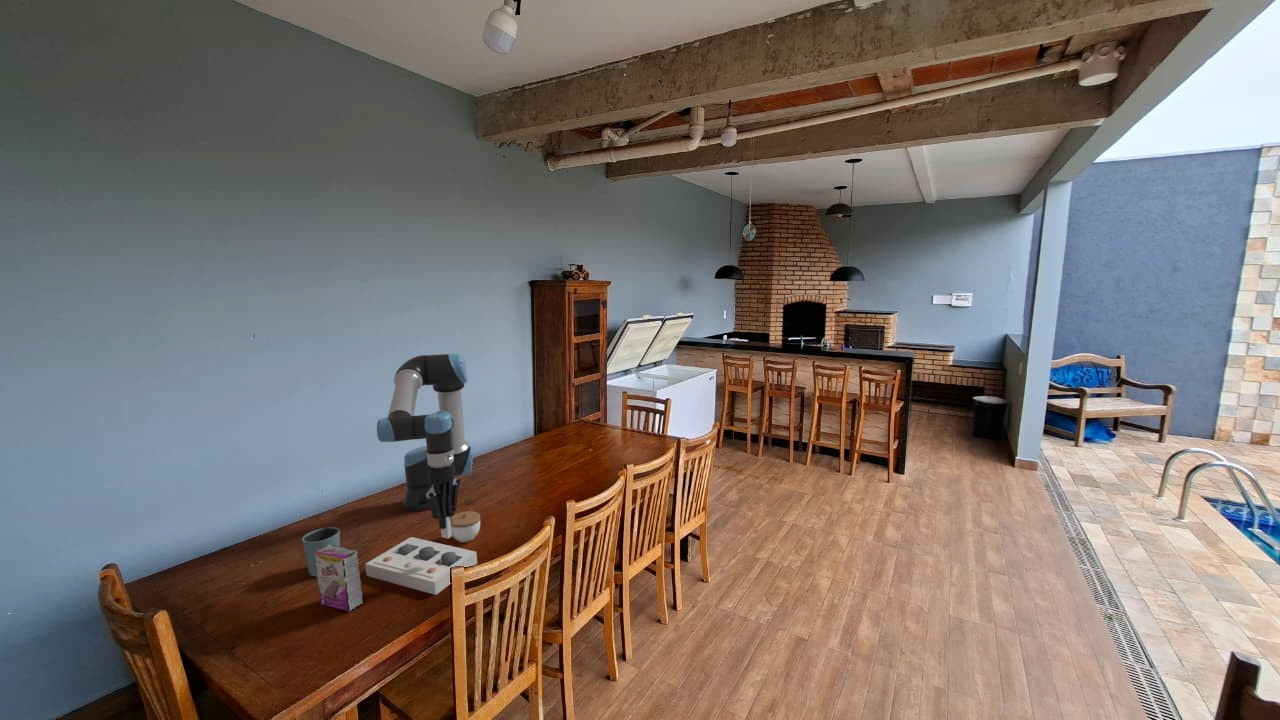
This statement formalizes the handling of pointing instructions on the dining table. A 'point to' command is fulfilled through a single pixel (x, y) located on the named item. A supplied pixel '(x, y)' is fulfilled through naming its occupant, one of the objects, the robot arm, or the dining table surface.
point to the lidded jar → (465, 526)
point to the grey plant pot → (319, 544)
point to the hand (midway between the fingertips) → (446, 536)
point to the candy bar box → (339, 577)
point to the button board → (418, 566)
